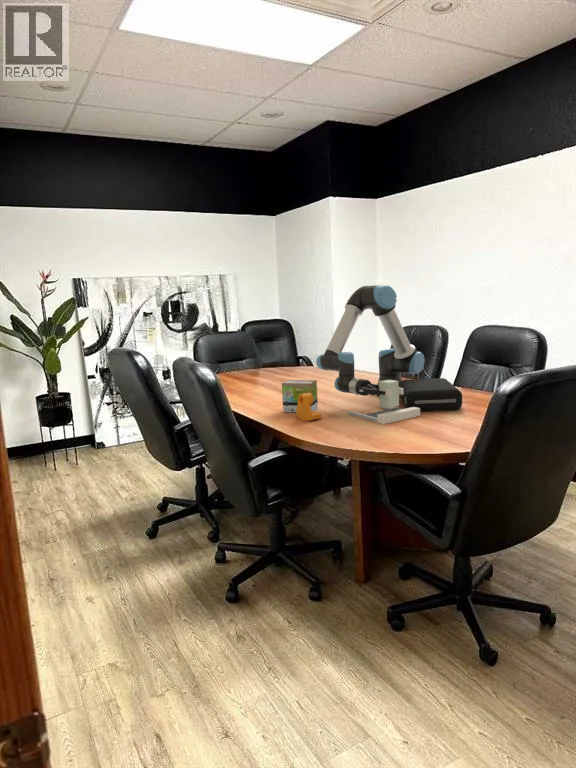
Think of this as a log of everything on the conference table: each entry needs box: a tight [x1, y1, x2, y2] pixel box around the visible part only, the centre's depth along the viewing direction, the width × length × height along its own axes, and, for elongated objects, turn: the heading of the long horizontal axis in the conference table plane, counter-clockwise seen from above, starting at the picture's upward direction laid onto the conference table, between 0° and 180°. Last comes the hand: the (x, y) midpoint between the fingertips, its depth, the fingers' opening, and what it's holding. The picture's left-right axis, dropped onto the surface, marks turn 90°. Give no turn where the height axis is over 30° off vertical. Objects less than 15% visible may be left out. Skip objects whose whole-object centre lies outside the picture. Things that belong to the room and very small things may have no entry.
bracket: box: [295, 393, 322, 422], centre depth 247 cm, size 11×7×12 cm, turn 29°
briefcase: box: [399, 377, 464, 412], centre depth 264 cm, size 36×32×10 cm
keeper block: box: [378, 380, 400, 408], centre depth 240 cm, size 6×6×11 cm
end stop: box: [376, 407, 421, 425], centre depth 237 cm, size 21×4×4 cm, turn 121°
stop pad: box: [365, 409, 392, 418], centre depth 245 cm, size 16×15×1 cm
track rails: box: [347, 406, 403, 423], centre depth 247 cm, size 21×21×2 cm
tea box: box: [281, 379, 319, 413], centre depth 264 cm, size 15×10×15 cm
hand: (397, 392), depth 236 cm, fingers closed on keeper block, 6 cm apart
